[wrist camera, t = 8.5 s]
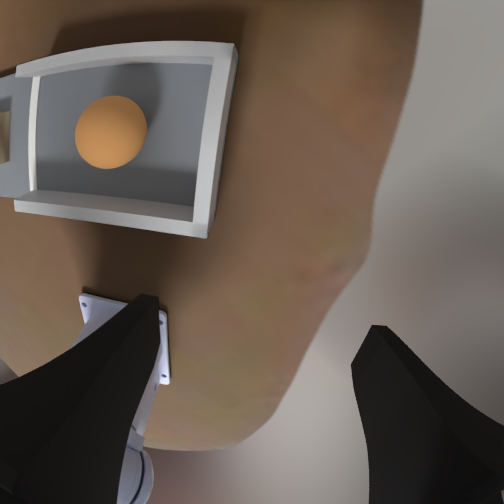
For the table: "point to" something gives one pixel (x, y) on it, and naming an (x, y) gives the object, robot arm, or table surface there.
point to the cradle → (4, 136)
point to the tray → (153, 150)
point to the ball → (110, 132)
